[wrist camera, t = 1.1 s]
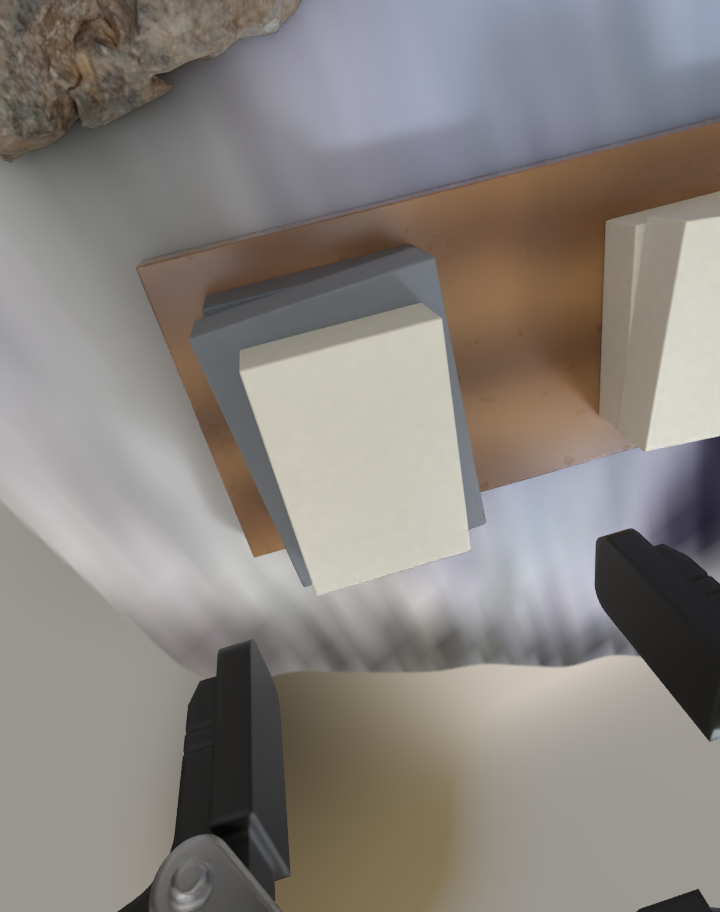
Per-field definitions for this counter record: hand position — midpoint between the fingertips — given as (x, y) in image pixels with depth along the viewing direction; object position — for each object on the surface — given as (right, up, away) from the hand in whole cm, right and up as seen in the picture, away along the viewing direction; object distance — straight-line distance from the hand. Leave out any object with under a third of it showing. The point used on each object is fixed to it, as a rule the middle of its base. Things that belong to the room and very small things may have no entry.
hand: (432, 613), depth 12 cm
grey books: (-2, +6, +11) cm, 13 cm away
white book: (-2, +4, +7) cm, 8 cm away
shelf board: (+5, +9, +13) cm, 16 cm away
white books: (+12, +10, +12) cm, 20 cm away
